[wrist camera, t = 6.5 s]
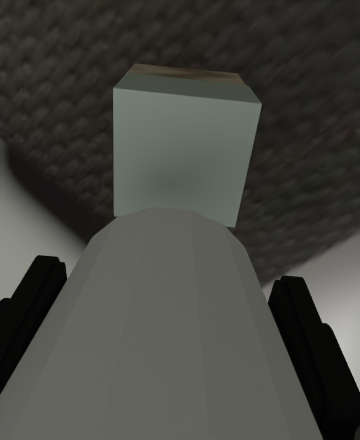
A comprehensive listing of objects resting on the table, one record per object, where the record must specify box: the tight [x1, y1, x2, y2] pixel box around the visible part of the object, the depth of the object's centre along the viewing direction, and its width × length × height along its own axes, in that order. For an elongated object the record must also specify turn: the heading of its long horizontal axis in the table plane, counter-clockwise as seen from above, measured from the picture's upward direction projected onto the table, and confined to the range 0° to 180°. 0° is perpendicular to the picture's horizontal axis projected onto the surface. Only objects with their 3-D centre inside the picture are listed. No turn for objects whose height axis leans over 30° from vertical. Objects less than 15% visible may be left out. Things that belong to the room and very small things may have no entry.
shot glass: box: [0, 207, 323, 440], centre depth 8 cm, size 7×7×7 cm
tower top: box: [113, 73, 262, 227], centre depth 23 cm, size 8×8×5 cm
